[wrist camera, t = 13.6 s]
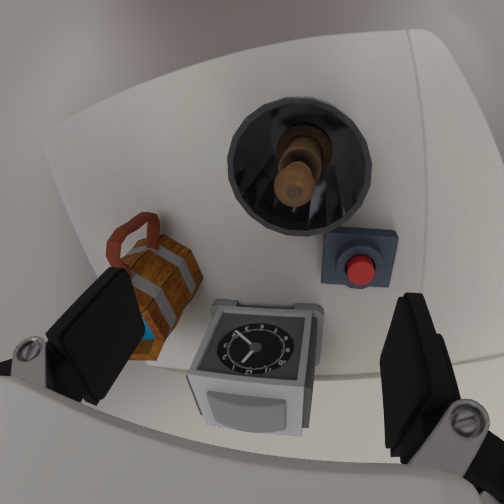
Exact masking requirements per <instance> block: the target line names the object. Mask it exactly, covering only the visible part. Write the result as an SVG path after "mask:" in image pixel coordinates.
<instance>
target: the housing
mask: <svg viewBox="0 0 504 504" xmlns="http://www.w3.org/2000/svg"><path fill="white" fill-rule="evenodd" d="M397 243H398V235H397V233H396V231H392V230H379V229H367V228H353V227H339V226H338V227H336V228H335V229H333V230H331V231H329V232H326V233H325V237H324V250H323V262H322V273H321V283H327V284H341V285H347V286H348V287H350V288H358V289H364V288H366V287H369V286H372V287H389V282H390V278H391V273H392V269H393V264H394V259H395V254H396V249H397ZM357 255H364V256H367V257H369V258H370V259H371V260H372V262H373V266H374V270H375V275H374V278H373V279H372V280H371V281H370V282H369V283H368V284H365V285H355V284H353V283H352V282H351V281H350V280H349V279H348V275H347V264H348V262H349V260H350V259H351V258H353V257H354V256H357Z"/></svg>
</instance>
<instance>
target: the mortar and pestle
mask: <svg viewBox="0 0 504 504" xmlns="http://www.w3.org/2000/svg"><path fill="white" fill-rule="evenodd" d="M332 153H333V151H332V144H331V141H330V139H329V137H328V135H327V134H326V133H325V132H324V131H323V130H322V129H320V128H319V127H317V126H315V125H312V124H308V123H300V124H295V125H293V126H291V127H289V128H288V129H287V130H286V131H285V132H284V133H283V134H282V135H281V137H280V138H279V141H278V144H277V156H278V159H279V166H278V171H279V173H278V175H277V176H276V178H275V182H274V190H275V194H276V196H277V197H278V199H279V200H280V201H281V202H282V203H284V204H285V205H287V206H291V207H298V206H302V205H304V204H306V203H307V202H308V201H309V200H310V199H311V198H312V196H313V194H314V191H315V183H316V182H317V180H318V179H319V177H320V174H321V173H322V172H323V171H324V170H325V169H326V168H327V167H328V166H329V164H330V162H331V159H332Z"/></svg>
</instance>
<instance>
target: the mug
mask: <svg viewBox="0 0 504 504" xmlns="http://www.w3.org/2000/svg"><path fill="white" fill-rule="evenodd" d="M146 222H148V224H147V238H146V239H142V240H139V241H138V242H137V243H136V244H135V246H134V247H133V248H132V249H131V250H130V251H129V252H128V253H127V254H126V255H125V256H124V257H123V258H120V252H121V244H122V242H123V241H124V240H125V238H126V237H127V235H129V234H131V233H132V232H134V231H136V230H138V229H139V228H140V227H141V226H143V225H144V224H145V223H146ZM159 234H160V222H159V219H158V216H157V214H154V213H150V212H142V213H140V214H138V215H137V216H135V217H134V218H132V219H131V220H130V221H128V222H127V223H125V224H124V225H122V226H120V227H118V228H117V229H116V230H115V231H114V232H113V234H112V235H111V237H110V238H109V239H108V241H107V247H106V257H107V259H108V261H109V263H110V265H111V266H112V267H119V268H124V269H125V270H126V271H127V273H129V274H130V277H131V281H132V284H133V288H134V291H135V295H136V298H137V302H138V305H139V309H140V312H141V315H142V319H143V322H144V325H145V335H144V337H143V338H142V340H141V341H140V343H139V344H138V346H137V347H136V349H135V351H134V352H133V354H132V355H131V357H130V358H129V360H154V361H156V360H157V358H158V356H159V354H160V351H161V349H162V347H163V345H164V343H165V341H166V339H167V337H168V336H169V335H170V333H171V332H172V331H173V329H174V328H175V327H176V325H177V323H178V321H179V319H180V317H181V315H182V312H183V310H184V309H185V307H186V305H187V304H188V303H189V302H190V301H191V300H192V298H193V297H194V295H195V293H196V291H197V289H198V287H199V285H200V283H201V281H202V279H203V276H202V274H201V272H200V270H199V267H198V265H197V263H196V261H195V258H194V256H193V254H192V251H191V250H190V249H188V248H186V247H185V246H183V245H181V244H179V243H178V242H176V241H174V240H172V239H171V238H169V237H167V236H165V235H164V234H161V235H159Z"/></svg>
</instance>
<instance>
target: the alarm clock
mask: <svg viewBox="0 0 504 504" xmlns="http://www.w3.org/2000/svg"><path fill="white" fill-rule="evenodd" d="M210 312H211V316H212V321H211V324H210V326H209V328H208V330H207V332H206V334H205V336H204V339H203V341H202V343H201V345H200V347H199V349H198V351H197V354H196V356H195V358H194V360H193V362H192V364H191V366H190V369H189V371H188V373H187V375H186V378H187V381H188V383H189V386H190V389H191V391H192V394H193V396H194V399H195V401H196V404H197V406H198V409H199V412H200V414H201V415H203V417H204V420H205V422H206V424H207V425H211V426H218V427H223V428H229V429H236V430H240V431H245V432H255V433H256V432H257V433H267V434H276V435H277V434H278V435H288V436H301V433H302V428H308V427H309V419H310V411H311V402H312V392H313V382H314V372H315V366H316V365H318V364H319V363H320V352H321V338H322V323H323V309H322V307H321V306H320V305H318V304H301V303H295V307H294V309H272V308H253V307H239V305H238V301H237V300H221V299H217V300H215V301H214V303H213V305H212V307H211V309H210Z"/></svg>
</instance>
